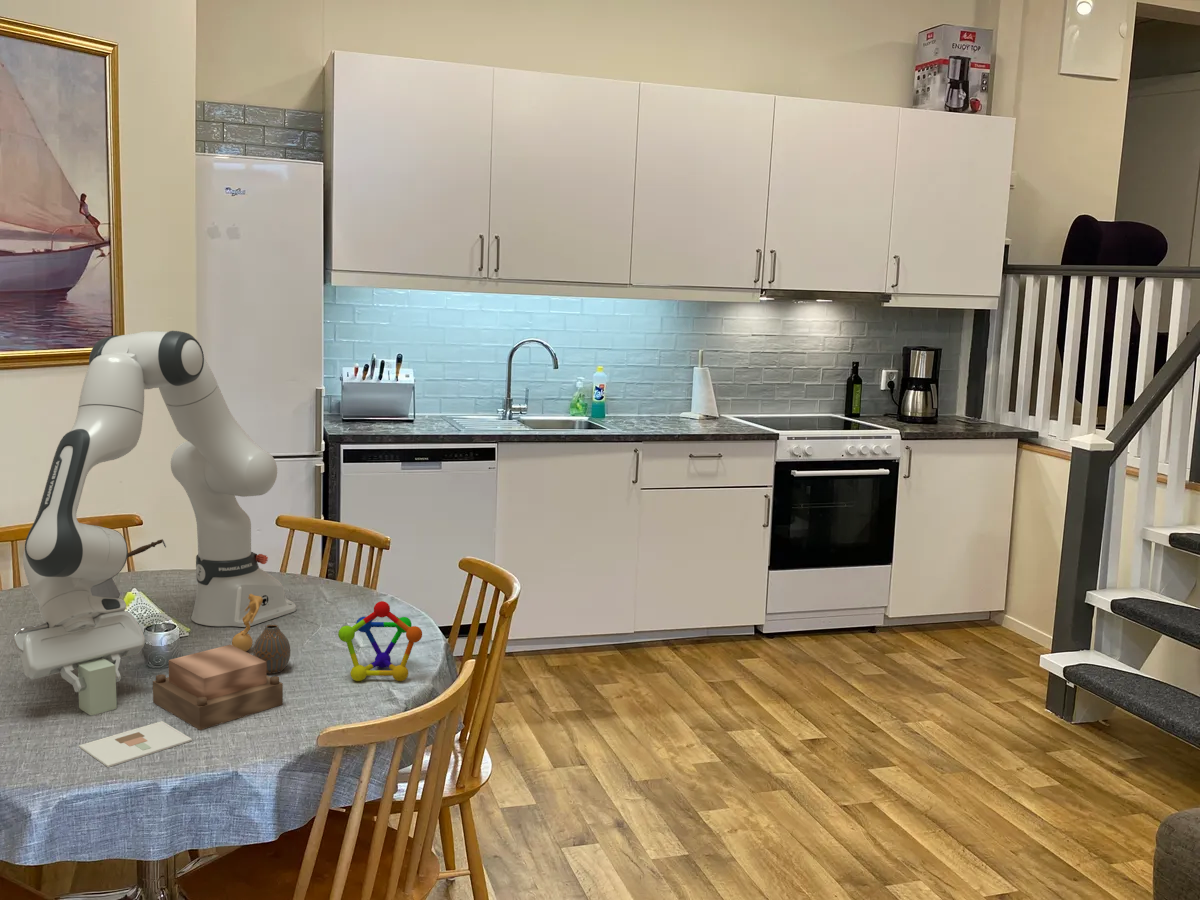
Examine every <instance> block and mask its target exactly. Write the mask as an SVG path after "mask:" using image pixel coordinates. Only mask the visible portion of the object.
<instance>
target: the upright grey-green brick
mask: <svg viewBox="0 0 1200 900" xmlns="http://www.w3.org/2000/svg"><path fill="white" fill-rule="evenodd" d="M77 677H78V678H83V677H84V679H85V683H86V684H87V687H86V689H85V690H83V691H80V692H78V709H79V710H82V711H83V712H84V713H86V714H87V715H89V716H90V717H91V716H95V715H99V714H102V713H106V712H109V711H113V710H117V709H118V708H117V707H118V706H117V702H118V701H117V682H116V669H115V665H114V664H113V663H111V662H109V661H107V660H106V659H104V658H102V659H98V660H94V661H90V662H86V663H81V664H78V669H77Z"/></svg>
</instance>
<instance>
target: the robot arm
mask: <svg viewBox="0 0 1200 900" xmlns="http://www.w3.org/2000/svg"><path fill="white" fill-rule="evenodd" d="M204 356H205V355H204V351H203V348H202V345H201V344H200V342H199V341H198V340H197V339H196V338H195V337H194V336H193V335H192V334H190V333H187V332H185V331H179V330H170V331H162V330H161V331H160V330H157V331H156V330H155V331H153V330H151V331H150V330H149V331H140V332H135V333H128V334H122V335H116V334H115V335H110V336H106V337H104V338H101V339H99V340H98V341H97V342H96V343H95V344H94V345H93V347H92V349H91V350H90V354H89V356H88V357H89V358H88V367H87V371H86V374H85V376H84V380H83V383H82V388H81V392H80V396H79V401H78V409H77V415H76V416H75V417H76V418H75V421H74V423H73V426H72V428H71V430H69V432H66V433H65V435H63V436H62V437H61V439H60V441H59V443H58V446H57V447H56V451H55V453H54V456H53V458H52V462H51V466H50V469H49V473H48V476H47V480H46V483H45V487H44V490H43V494H42V496H41V497H42V498H41V501H40V504H39V508H38V511H37V514H36V517H35V519H34V522H33V523H32V526H31V527H30V529H29V531H28V534H27V536H26V539H25V542H24V551H23V552H22V553H23V555H22V566H23V570H24V574H25V577H26V580H27V583H28V587H29V588H30V591H31V593H32V595H33V596H34V597H35V599H36V601H37V603H38V610H39V611H38V612H39V613H40V616H41V619H42V622H43V623H39V624H36V625H32V626H25V627H24V626H23V627H21V628H19V630H18V631H17V632H15V633H14V635H13V637H12V638H13V639H12V640H13V643H14V646H15V648H16V650H18V651H19V652H20V653H19V655H20V660H21V665H22V669H23V672H24V676H26V677H27V678H28V679H30V680H36V679H37V680H38V679H40V678H45V677H48V676H52V675H57V674H60V676H61V678H62V679H63V680H65V682H68V683H69V684H70V685H72V688H73V690H74V692H75V693H79V692H80V691H83V690H85V689H86V687H87V684H86V683H85V679H84V677H83V678H78V675H76V674H75V673H73V671H74V670H78V664H81V663H86V662H90V661H94V660H98V659H102V658H104V659H106V660H107V661H109V662H111V663H113V664H114V665H115V669H116V683H117V682H118V683H119V682H120V680H121V678H122V677H121V673H120V671H119V668H120V662H121V659H122V658H123V659H124V658H127V657H131V656H135V655H138V654H139V653H140V652H141V651H142V650H143V648H144V646H145V644H146V637H145V635H144V633H143V630H142V627H141V626H140V624H139V622H138V621H137V619H136V618H135V616H134V615H133V614H132V613H131V612H129V611H126V608H127V603H126V601H125V599H123V598H120V597H119V598H106V597H98V596H92V594H91V591H90V589H91V587H93V586H96V585H99V584H101V583H103V582H105V581H107V580H109V579H111V578H112V579H114V577H116V576H118V574H119V573H120V572H121V571H122V570H123V569H124V567H125V565H126V563H127V560H128V558H127V555H128V553H129V552H128V551H129V550H128V543H127V541H126V539H125V538H124V536H123V534H122V533H121V532H120V531H117V530H115V529H111V528H107V527H103V526H99V525H95V524H94V525H93V524H86V523H83V522H79V521H78V517H77V512H78V509H79V506H80V505H79V504H80V501H81V497H82V493H83V490H84V486H85V482H86V479H87V476H88V474H89V472H90V471H91V470H92V469H93V467H95V466H97V465H98V464H99V465H100V464H102V463H105V462H110V461H114V460H117V459H120V458H123V457H124V456H126V455H128V454H129V453H130V452H131V451H133V450H134V449H135V447H136V446H137V445H138V443H139V440H140V437H141V435H142V434H141V433H142V429H143V420H144V418H143V417H144V409H145V390H152V389H157V388H158V390H159V393H160V396H161V397H162V400H163V402H164V404H165V407H166V408H167V411H168V413H169V415H170V417H171V420H172V421H173V425H174V426H175V429H176V431H177V432H178V434H179V435H180V437H182V438H183V439H184V440H185V441H183V442H182V443H180V444H179V445H178V446H176V448H175V449H174V451H173V452H172V455H171V460H170V470H171V473H172V475H173V477H174V478H175V480H176V481H177V482H179V484H180V485H181V486H182V488H183V490H185V493H186V494H187V497H188V499H189V501H190V504H191V507H192V510H193V512H194V516H195V522H196V533H197V534H196V535H197V537H196V538H197V555H196V556H195V577H196V581H197V585H196V593H195V599H194V600H195V601H194V605H193V609H192V613H191V617H190V619H191V620H192V621H193V623H196V624H198V625H203V626H209V627H210V626H211V627H239V628H241V627H242V628H246V625H244V622H243V620H242V619H243V617H244V616H245V615H246V614H247V613H248V612H249V611H250V607H249V608H248V610H247V611H246V612H245V609H246V608H247V607H248V605H249V602H250V599H248V597H249V594H253V595H255V596H260V597H262V599H263V601H262V604H261V606H260V607H259V610H258V612H257V614H256V616H255V617H254V620H253V622H250V621H251V620H250V621H249V622H250V623H251V624H250V623H249V624H250V627H252V626H255V625H258V624H260V623H263V622H264V623H265V622H266V621H271V620H273V619H277V618H279V617H282V616H285V615H288V614H292V613H293V612H297V605H296V603H294V602H293V601H292V600H289V599H288V598H287V597H286V593H285V588H284V585H283V584H282V583H281V580H280V581H279V580H278V579H277V578H275V577H274V576H272V575H271V574H269V573H268V572H266V571H265V570H264V569H262V568H260V567H259V564H258V563H260V564H261V565H265V564H267V563H268V560H269V557H268V556H267V555H266V554H263V553H259V554H257V553H255V552H254V551H252V523H251V518H250V516H249V515H248V513H247V512H246V510H245V511H244V509H243V508H242V507H241V505H240V504H239V502H238V500H237V497H242V498H243V497H244V498H245V497H256V496H257V497H258V496H263V495H266V494H267V493H268V492H269V491H271V490H272V488H273V487H274V486H275V483H276V480H277V477H278V467H277V462H276V460H275V458H274V457H273V455H272V454H270V453H269V452H268V451H266V450H265V449H263V448H262V447H260V446H259V445H258V444H257V443H256V442H255V441H254V440H253V439H252V438H251V437H250V436H249V434H247V432H246V431H245V430H244V428H243V427H242V426H241V425H240V424H239V422H237V420H236V419H235V417H234V416H233V414H232V413H231V411H230V409H229V407H228V404H227V403H226V402H227V401H226V400H225V398H224V395H223V393H222V392H221V389H220V386H219V385H218V384H219V383H218V382H217V379H216V378H215V374H214V373H213V371H212V369H211V367H210V365H209V364H208V362H207V360H206V359H205V357H204ZM236 496H237V497H236Z"/></svg>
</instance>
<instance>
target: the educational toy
mask: <svg viewBox="0 0 1200 900" xmlns="http://www.w3.org/2000/svg"><path fill="white" fill-rule="evenodd" d="M376 618H387V619H389V620H391V621H374V620H375V619H376ZM372 628H396V630H397V631H395V634H394V636H393V637H392V639H391V641H390V642H389V644H388V646H387V647H386V649H385V651H383V652H382V650H381V647H379V645H378V642H377V641H376V638H375V636H374V635H373V633H372V631H371V629H372ZM356 632H360V633H365V635H366V637H367V638H368V639H367V640H369V642H370V645H371V646H372V648H373V651H374V652H375V654H376V655H375V657H374V661H373V662H371V663H369V664H367V665H366V666H364V665H362V664H359V659H358V657H357V653H356V650H355V648H354V643H353V640H354V638H355V635H356ZM337 634H338V638H339V640H340V641H342V642H345V643H346V645H347V649H348V652H349V655H350V659H351V661H352V665H353V667H352V668H351V669H350V672H349V673H350V677H351V679H352V680H353V681H354V682H362V681H363V680H365V679H366V678H367V677H370V676H371V677H377V676H378V677H379V676H380V677H382V676H384V677H392V678H393V679H394V680H395V681H396V682H403V681H405V680H407V678H408V676H409V669H408V667H407V664H408V661H409V658H410V655H411V652H412V650H413V647H414V643H417V642H420V641H421V639H422V637H423V631H422V629H421V627H419V626H417V625H413V624H412V621H411V619H410V618H408V617H406V616H401V617H398V616H397V615H395V614H394V613H392V612H391V606H390V604H389V603H388V602H386V601H383V600H381V601H377V602H376V603H375V604H374V607H373V612H371V613H370V614H368V615H366V616H360V617H359V618H358V619H357V620H356V622H355V624H354V625H352V626H351V625H344V626H341V627H340V628H339V630H338V633H337ZM402 634H405V637H406V639H407V641H408V643H407V645H406V648H405V651H404V654H403V657H402V660H401V662H400V664H398V665H394V664H393V663H392V662H391V659H392V658H391V656H390V654H391V653H392V650H393V649H394V647H395V646H396V644H397V642H398V640H399V638H400V637H401V636H402ZM376 667H377V668H380V669H382V670H376V669H375V668H376ZM386 668H388V669H389V670H387V669H386ZM373 669H375V670H373ZM383 669H384V670H383ZM385 669H386V670H385Z"/></svg>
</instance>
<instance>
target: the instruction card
mask: <svg viewBox="0 0 1200 900" xmlns="http://www.w3.org/2000/svg"><path fill="white" fill-rule="evenodd" d="M190 742H193V739H192V738H191V737H190V736H188V735H186V733H185V734H184V732H181V731H180V730H178V729H176V728H174V727H173V726H171V725H169V724H168V723H166V722H165V721H163V720H161V721H158V722H153V723H151V724H148V725H147V724H146V725H143V726H140V727H137V728H134V729H133V728H132V729H129V730H126V731H124V732H119V733H116V734H114V735H110V736H107V737H103V738H100V739H96V740H93V741H90V742H85V743H82V744H79V745H78V748H79V749H80V750H82V751H84V752H85V753H86V754H88V755H89V756H91V757H92V758H94V759H95V760H97V761H98V762H99V763H101V764H102V765H104V766H105V767H107V768H110V767H113V766H117V765H119V764H123V763H126V762H130V761H132V760H136V759H139V758H142V757H146V756H148V755H153V754H155V753H158V752H162V751H164V750H167V749H171V748H174V747H178V746H181V745H184V744H187V743H190Z"/></svg>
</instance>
